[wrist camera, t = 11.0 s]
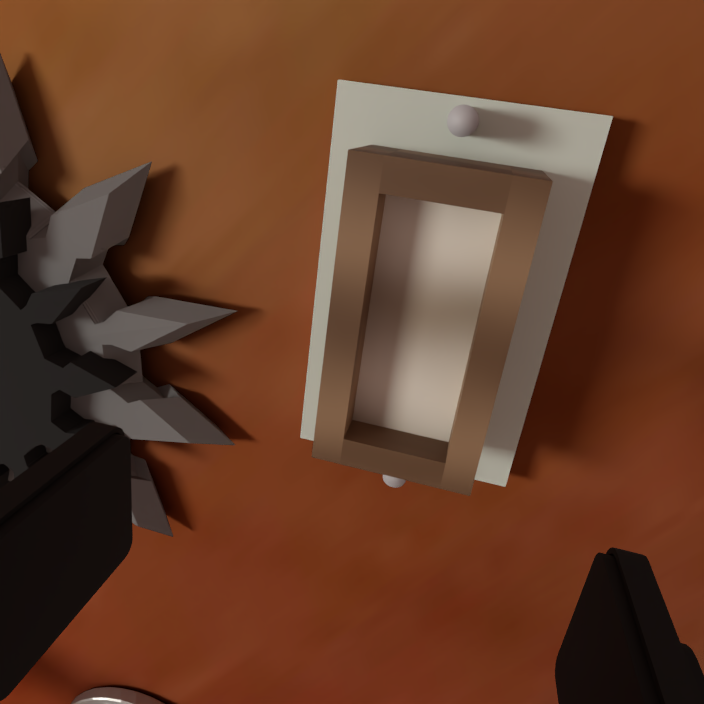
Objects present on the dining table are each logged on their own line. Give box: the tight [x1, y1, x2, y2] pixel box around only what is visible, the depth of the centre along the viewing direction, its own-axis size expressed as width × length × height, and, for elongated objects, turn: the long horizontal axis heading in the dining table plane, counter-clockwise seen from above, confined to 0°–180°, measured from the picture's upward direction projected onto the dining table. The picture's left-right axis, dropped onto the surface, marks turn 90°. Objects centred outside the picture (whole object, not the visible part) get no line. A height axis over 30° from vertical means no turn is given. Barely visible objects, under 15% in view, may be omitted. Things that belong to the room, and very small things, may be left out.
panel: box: [300, 80, 613, 487], centre depth 23 cm, size 16×10×4 cm, turn 172°
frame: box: [312, 145, 553, 496], centre depth 22 cm, size 12×6×4 cm, turn 172°
